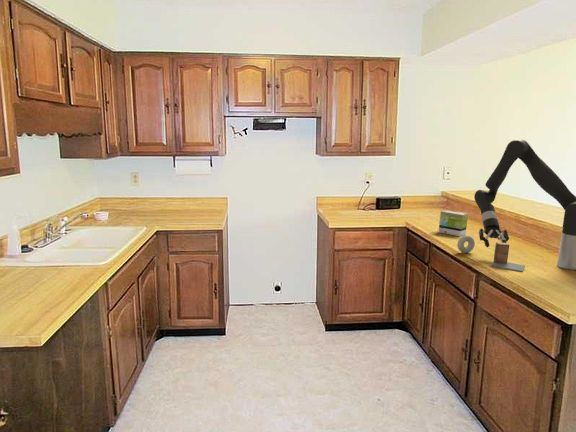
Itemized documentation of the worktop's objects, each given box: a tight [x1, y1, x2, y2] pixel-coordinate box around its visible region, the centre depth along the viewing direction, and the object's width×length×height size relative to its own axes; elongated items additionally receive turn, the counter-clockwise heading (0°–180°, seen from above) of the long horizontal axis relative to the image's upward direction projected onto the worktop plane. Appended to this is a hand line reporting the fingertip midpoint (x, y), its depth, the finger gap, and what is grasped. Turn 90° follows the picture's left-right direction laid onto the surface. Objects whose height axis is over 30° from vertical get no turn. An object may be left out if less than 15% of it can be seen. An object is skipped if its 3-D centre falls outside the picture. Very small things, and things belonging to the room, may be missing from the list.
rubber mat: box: [490, 261, 526, 273], centre depth 216 cm, size 14×12×1 cm
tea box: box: [438, 209, 469, 237], centre depth 289 cm, size 15×10×15 cm, turn 47°
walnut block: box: [493, 242, 510, 264], centre depth 220 cm, size 4×5×10 cm
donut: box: [456, 234, 476, 254], centre depth 239 cm, size 10×4×10 cm, turn 102°
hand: (496, 247), depth 225 cm, fingers open, 8 cm apart
